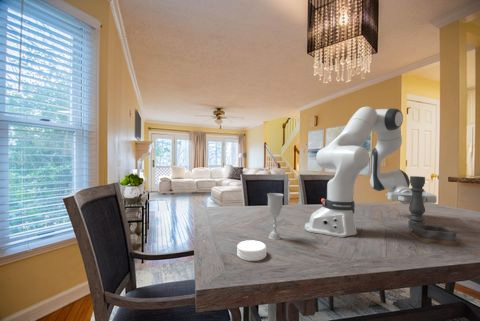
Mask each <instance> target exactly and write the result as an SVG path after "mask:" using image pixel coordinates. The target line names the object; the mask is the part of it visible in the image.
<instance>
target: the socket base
mask: <svg viewBox="0 0 480 321" xmlns="http://www.w3.org/2000/svg"><path fill="white" fill-rule="evenodd" d="M409 234H410V235H412V236H413V237H414V238H416V239H417V240H418V241H420V242H421V243H425V244H432V243H433V245H444V246H453V247H461V242H460V241H458V240H457V233H455V232H454V231H452V230H450V229H448V228H446V227H445V226H442V225H432V224H425V225H421V224H413V229H410V230H409Z"/></svg>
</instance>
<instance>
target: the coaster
mask: <svg viewBox="0 0 480 321" xmlns="http://www.w3.org/2000/svg"><path fill="white" fill-rule="evenodd" d="M236 248H237V249H236V252H237V257H238V258H239V259H241V260H244V261H249V262H257V261H258V262H259V261H262V260H264V259H265V258H266V257H267V245H266V244H265V243H264V242H262V241H259V240H253V239H251V240H250V239H248V240H243V241H240V242H239V243H238V244H237V245H236Z"/></svg>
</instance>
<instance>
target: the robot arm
mask: <svg viewBox="0 0 480 321" xmlns="http://www.w3.org/2000/svg"><path fill="white" fill-rule="evenodd" d="M403 121H404V116H403V112H402V111H401V110H399V108H392V107H391V108H375V109H374V107H371V106H363V107H360V108H358V109H357V110H356V111H355V113H354V114H353V115H352V116H351V117H350V119H349V120H348V122H347V123H346V125H345V127H344V128H343V130H342V131H341V133H340V134H338V135H337V137H336V138H334V140H332V141H331V142H330V143H329V144H327V145H326V146H324V147H322V148H321V149H319V150H318V151H317V153H316V155H315V157H316V158H315V161H316V164H317V165H318V166H319V167H321V168H324V169H327V170H335V174H334V176H333V178H331V179H329V181H327V185H326V186H327V187H326V199H325V198H321V200H320V201H321V203H322V204H321V205H322V206H321V207H319V208H318V209H317V210H314V212H312V213H311V215H310V216H309V217H310V218H309V221H308V222H307V221H306V222H305V224H304V230H306V231H307V232H308V233H315V234H321V235H328V236H333V237H340V238H345V237H348V236H355V235H356V234H358V232H357V231H358V230H357V228H356V223H355V215H354V214H355V208H356V207H355V206H356V205H355V201H354V192H355V190H354V189H355V184H356V180H357V177H358V176H359V174H360V173H361V172H362V171H363V170H364V169H366V168H367V167H368V166H369V163H370V177H369V185H370V187H371V189H373V190H375V191H377V192H381V191H385V190H387V193H385V194H384V196H385V197H387V200H388V201H395V202H396V201H397V202H399V203H401V204H403V205H410V203H411V200H412V191H411V190H410V189H411V188H412V187H411V188H410V186H411V183H410V177H409V175H408V174H407V173H406V172H404V171H403V170H401V169H399V168H398V169H393V170H389V171H385V172H381V167H382V166H381V165H382V164H381V163H382V161H383V160H384V159H385V158H387V157H388V156H390V155H392V154H393V153H395V152H397V151H398V150H399V149H400V148H401V146H402V144H403V139H402V138H403V135H402V131H401V126H402V124H403ZM372 132H376V139H377V140H376V144H375V147H374V148H373V149H372V150H371V157H370V152H369V151H368V149H367V148H366V147H363V146H364V144H365V143H366V141H367V140H368V138H369V136H370V134H371V133H372ZM370 159H371V160H370ZM437 199H438V198H437V196H436V195H435V194H433V193H429V192H426V190H424V191H423V192H422V200H423V203H424V204H426V203H428V204H436V203H437V201H438V200H437Z"/></svg>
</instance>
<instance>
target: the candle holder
mask: <svg viewBox="0 0 480 321" xmlns="http://www.w3.org/2000/svg"><path fill="white" fill-rule="evenodd" d="M409 181H410V186H411V189H410V190H411V191H412V200H411V203H410V204H409V207H408V211H409V213H411V215H410V216H409V220H408V229H410V230H413V224H421V225H426V222H425V218H424V214H425V212H426V207H425V203H423V200H422V192H423V191H425V189H424V188H423V187H424V186H425V184H426V177H425V176H417V175H414V176H413V175H412V176H409Z"/></svg>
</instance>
